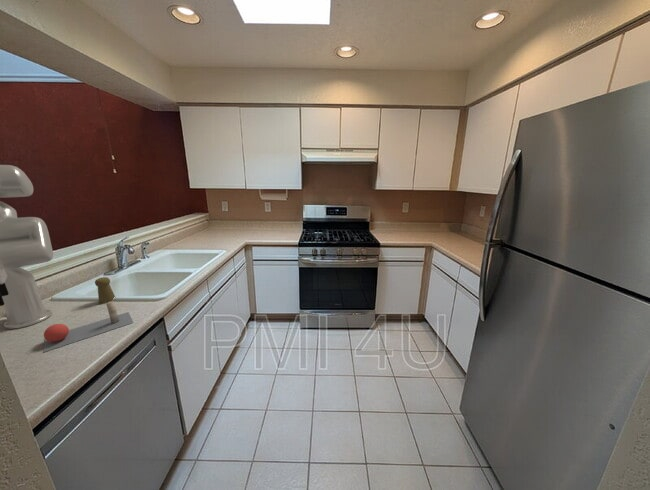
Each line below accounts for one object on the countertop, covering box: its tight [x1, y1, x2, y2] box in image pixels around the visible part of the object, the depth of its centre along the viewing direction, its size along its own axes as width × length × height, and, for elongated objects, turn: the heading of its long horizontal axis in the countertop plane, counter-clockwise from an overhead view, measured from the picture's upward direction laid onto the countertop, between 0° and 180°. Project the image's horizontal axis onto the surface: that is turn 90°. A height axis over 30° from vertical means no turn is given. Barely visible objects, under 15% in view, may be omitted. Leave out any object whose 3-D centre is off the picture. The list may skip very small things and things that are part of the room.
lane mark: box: [43, 311, 134, 353], centre depth 95 cm, size 24×11×1 cm, turn 135°
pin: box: [105, 300, 119, 324], centre depth 98 cm, size 2×2×8 cm
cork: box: [94, 276, 116, 305], centre depth 115 cm, size 6×6×11 cm
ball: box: [43, 323, 70, 342], centre depth 88 cm, size 6×6×6 cm
